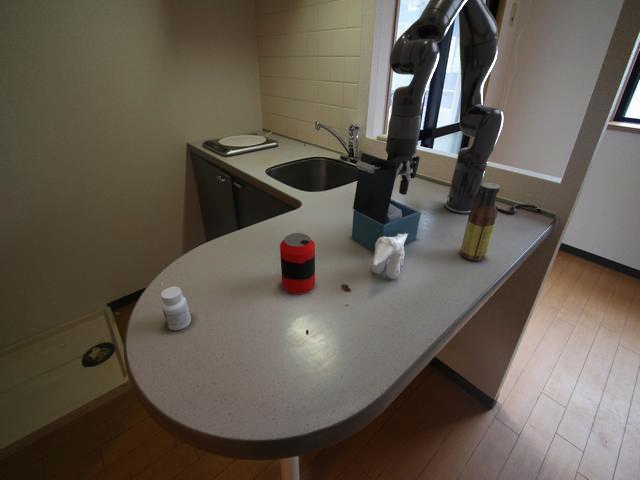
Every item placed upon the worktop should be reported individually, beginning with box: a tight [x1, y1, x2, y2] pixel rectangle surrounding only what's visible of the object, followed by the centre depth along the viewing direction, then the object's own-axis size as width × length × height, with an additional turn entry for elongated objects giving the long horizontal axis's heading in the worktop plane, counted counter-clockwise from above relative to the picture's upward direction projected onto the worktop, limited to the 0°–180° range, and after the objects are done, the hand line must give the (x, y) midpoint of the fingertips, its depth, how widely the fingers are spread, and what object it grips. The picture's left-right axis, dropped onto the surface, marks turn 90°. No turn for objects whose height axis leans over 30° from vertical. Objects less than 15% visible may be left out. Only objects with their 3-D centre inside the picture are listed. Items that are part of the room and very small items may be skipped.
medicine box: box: [386, 204, 402, 224], centre depth 90 cm, size 8×4×9 cm, turn 28°
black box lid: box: [352, 152, 398, 225], centre depth 79 cm, size 15×12×5 cm
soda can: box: [279, 232, 316, 295], centre depth 70 cm, size 8×8×12 cm
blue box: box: [351, 198, 422, 253], centre depth 90 cm, size 15×12×9 cm
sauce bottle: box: [460, 182, 501, 262], centre depth 80 cm, size 7×6×20 cm
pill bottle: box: [160, 286, 192, 331], centre depth 60 cm, size 4×4×8 cm
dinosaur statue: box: [371, 233, 408, 280], centre depth 77 cm, size 7×24×11 cm, turn 148°
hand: (394, 196), depth 87 cm, fingers open, 6 cm apart
